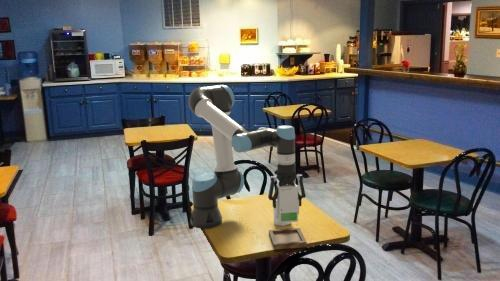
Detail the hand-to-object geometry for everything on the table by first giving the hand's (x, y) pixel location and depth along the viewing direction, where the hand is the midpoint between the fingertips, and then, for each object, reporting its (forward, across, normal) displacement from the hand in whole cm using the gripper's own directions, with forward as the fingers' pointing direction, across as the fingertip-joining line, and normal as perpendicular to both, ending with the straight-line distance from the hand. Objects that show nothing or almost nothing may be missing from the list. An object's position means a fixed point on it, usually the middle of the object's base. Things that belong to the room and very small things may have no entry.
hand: (287, 213), depth 199 cm
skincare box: (+3, 0, 0) cm, 3 cm away
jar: (+12, +1, +20) cm, 24 cm away
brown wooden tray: (+12, 0, 0) cm, 12 cm away
